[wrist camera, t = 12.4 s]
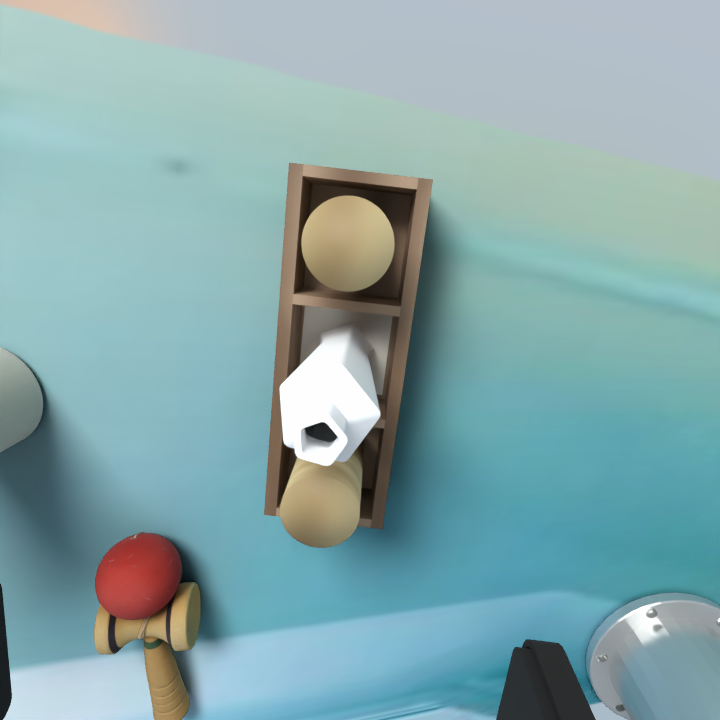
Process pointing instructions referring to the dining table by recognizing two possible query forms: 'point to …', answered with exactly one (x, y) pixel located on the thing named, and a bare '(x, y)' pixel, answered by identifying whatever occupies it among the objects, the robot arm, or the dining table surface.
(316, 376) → the white faceted vase
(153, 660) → the kendama
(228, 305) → the dining table surface
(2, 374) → the travel mug
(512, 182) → the dining table surface
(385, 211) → the wooden condiment caddy
